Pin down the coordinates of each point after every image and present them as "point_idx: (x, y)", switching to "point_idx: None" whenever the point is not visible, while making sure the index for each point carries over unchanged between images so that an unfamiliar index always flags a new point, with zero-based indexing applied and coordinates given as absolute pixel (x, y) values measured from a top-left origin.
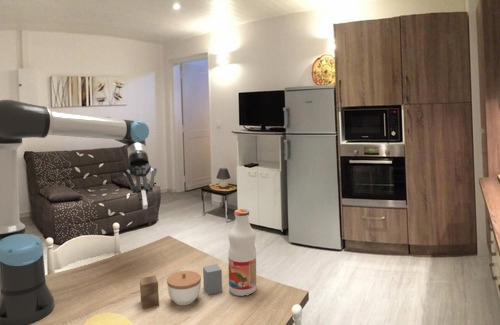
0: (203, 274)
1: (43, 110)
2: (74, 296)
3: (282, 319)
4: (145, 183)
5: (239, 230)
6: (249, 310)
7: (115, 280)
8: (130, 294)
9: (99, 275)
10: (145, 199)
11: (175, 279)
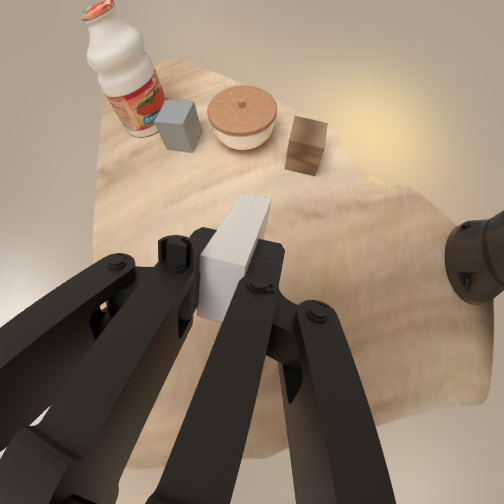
0: (186, 133)
1: None
2: (418, 275)
3: (171, 58)
4: (143, 319)
5: (126, 23)
6: (184, 79)
7: (338, 300)
8: (325, 212)
9: (361, 351)
10: (242, 210)
11: (259, 107)
